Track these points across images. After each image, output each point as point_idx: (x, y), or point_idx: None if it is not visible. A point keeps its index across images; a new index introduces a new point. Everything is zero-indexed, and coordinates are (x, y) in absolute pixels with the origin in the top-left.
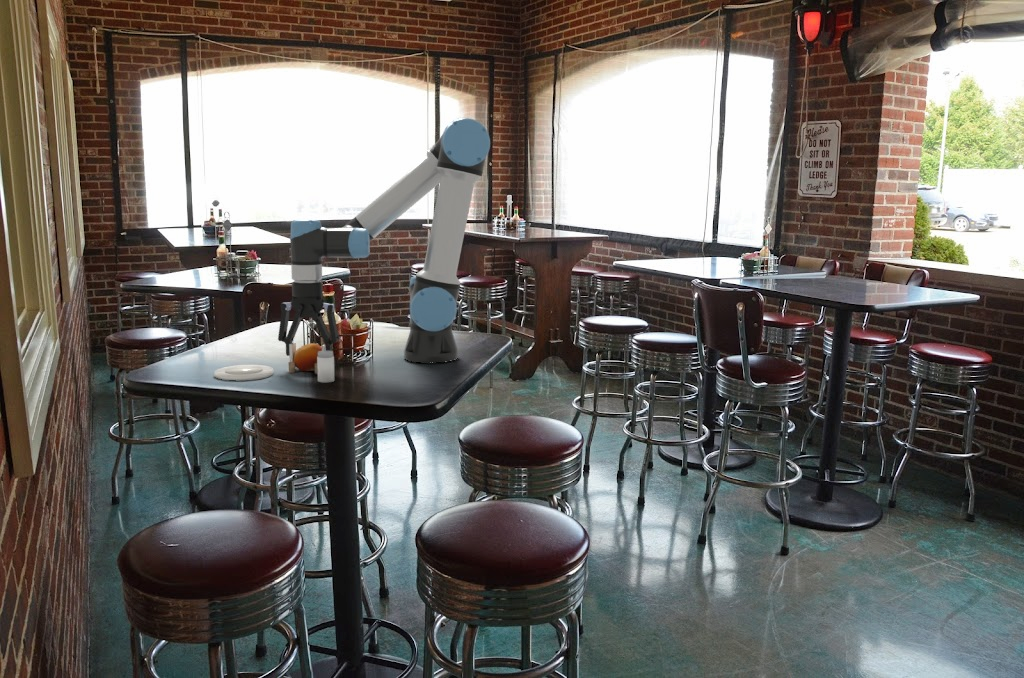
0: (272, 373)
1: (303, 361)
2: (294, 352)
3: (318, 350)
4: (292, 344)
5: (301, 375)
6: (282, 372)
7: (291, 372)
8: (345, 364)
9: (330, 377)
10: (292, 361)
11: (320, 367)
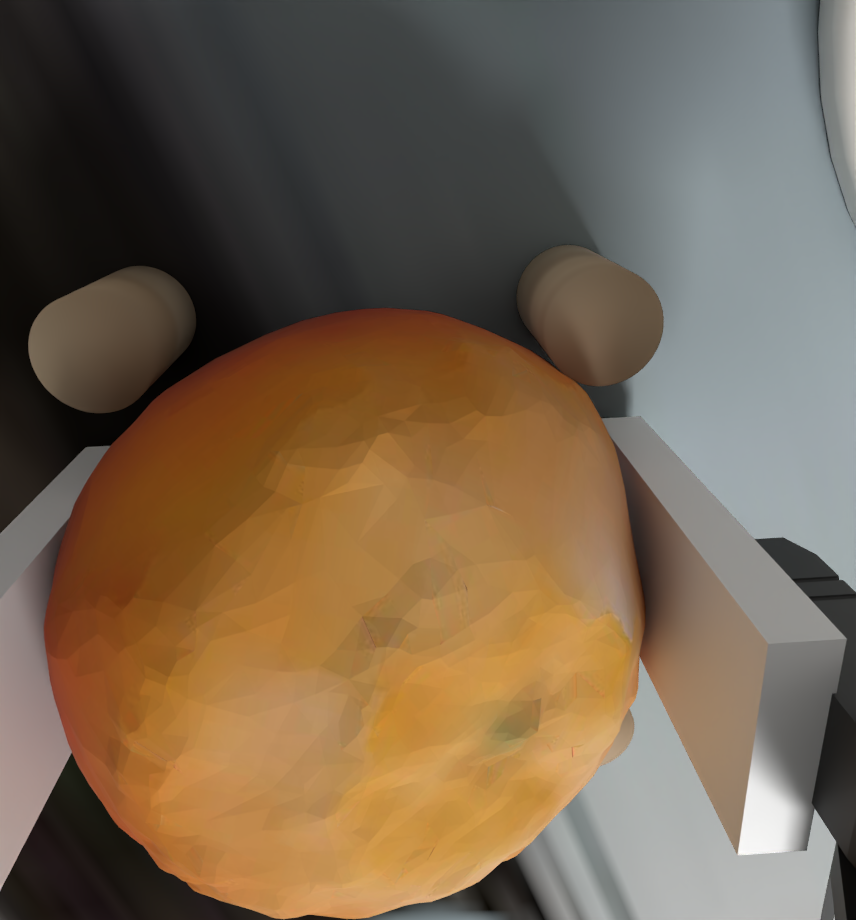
0: (828, 27)
1: (357, 314)
2: (671, 635)
3: (60, 594)
4: (762, 669)
5: (327, 94)
6: (703, 248)
7: (557, 249)
8: (72, 859)
9: None
10: (632, 462)
11: None
